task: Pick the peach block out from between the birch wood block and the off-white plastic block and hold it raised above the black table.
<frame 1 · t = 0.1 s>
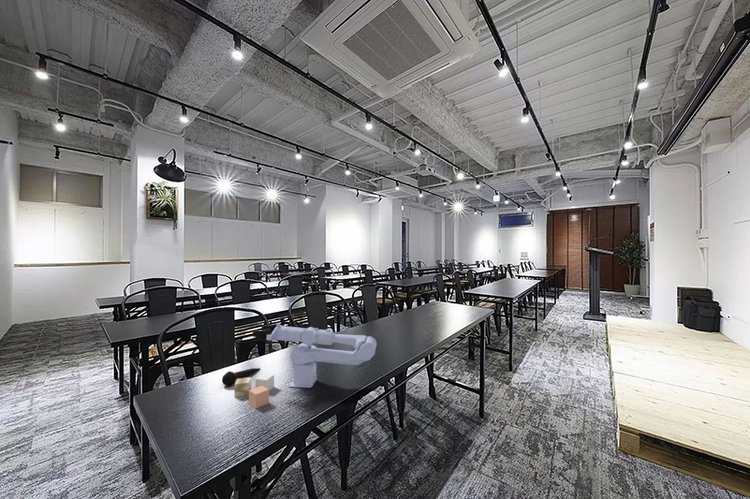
hand: (257, 331, 122), 22 cm above the table, tool horizontal, fingers open, 7 cm apart
microphone: (243, 379, 125), on the table
birch block: (242, 393, 111), on the table
peach block: (258, 403, 104), on the table
white block: (264, 389, 115), on the table
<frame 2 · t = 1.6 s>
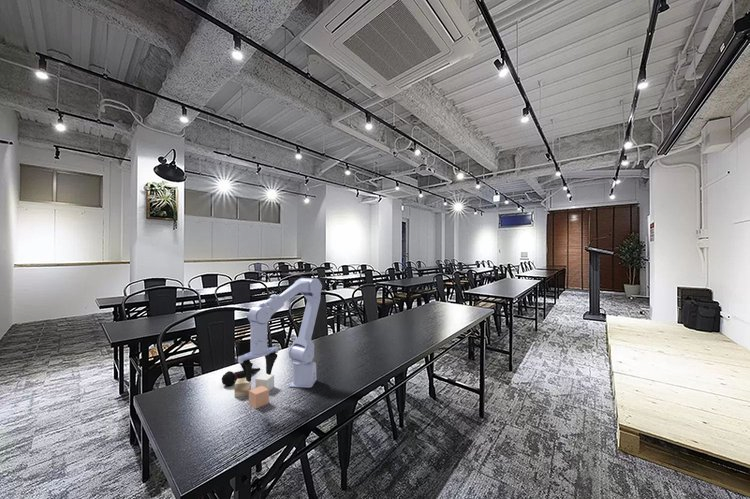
hand: (258, 377, 104), 9 cm above the table, tool pointing down, fingers open, 7 cm apart
nothing on the table moved.
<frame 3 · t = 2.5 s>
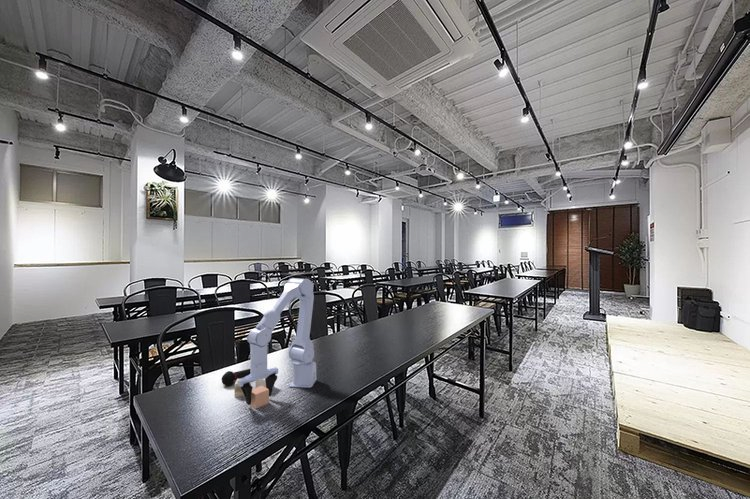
hand: (258, 399, 104), 1 cm above the table, tool pointing down, fingers open, 7 cm apart
nothing on the table moved.
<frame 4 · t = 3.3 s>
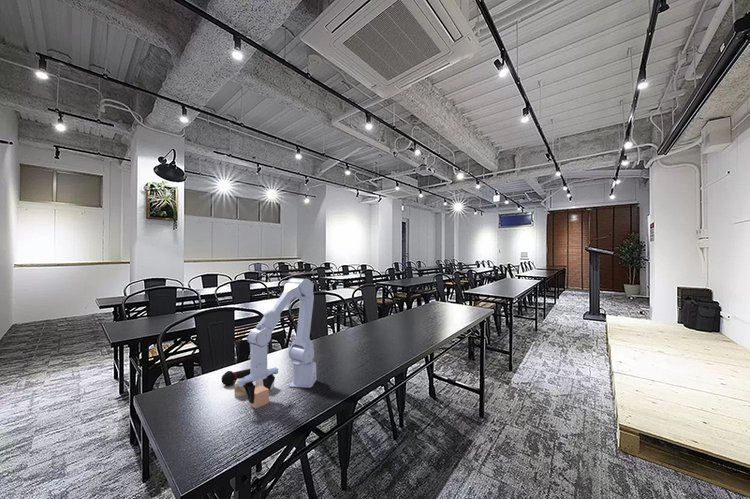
hand: (258, 399, 104), 1 cm above the table, tool pointing down, fingers closed on peach block, 5 cm apart
peach block: (258, 403, 104), on the table, touching gripper
everything else where it was.
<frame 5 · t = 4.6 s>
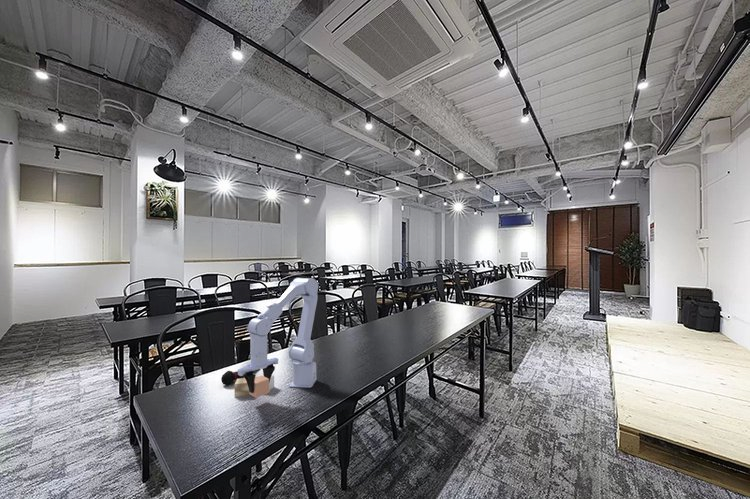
hand: (259, 389, 104), 5 cm above the table, tool pointing down, fingers closed on peach block, 5 cm apart
peach block: (259, 393, 104), point 4 cm above the table, touching gripper
everything else where it was.
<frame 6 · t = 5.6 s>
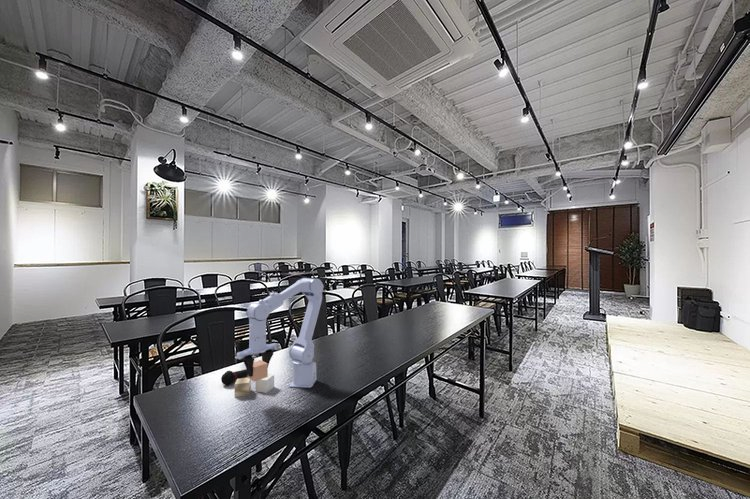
hand: (257, 373, 105), 10 cm above the table, tool pointing down, fingers closed on peach block, 5 cm apart
peach block: (257, 377, 105), point 9 cm above the table, touching gripper
everything else where it was.
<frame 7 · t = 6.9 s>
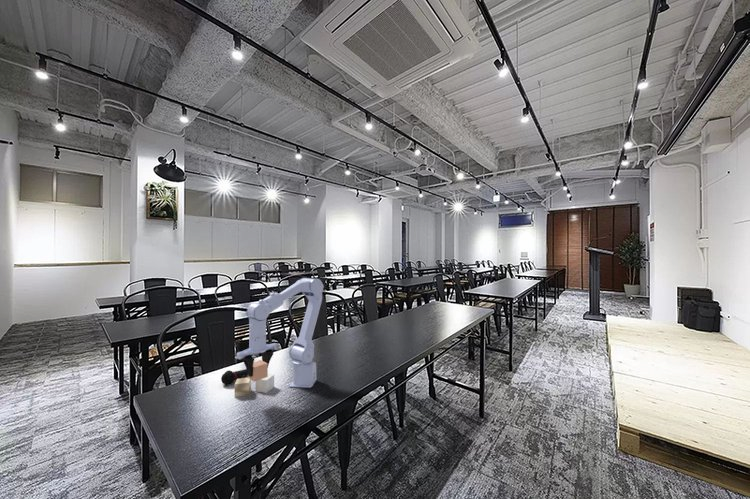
hand: (257, 373, 105), 10 cm above the table, tool pointing down, fingers closed on peach block, 5 cm apart
peach block: (257, 377, 105), point 9 cm above the table, touching gripper
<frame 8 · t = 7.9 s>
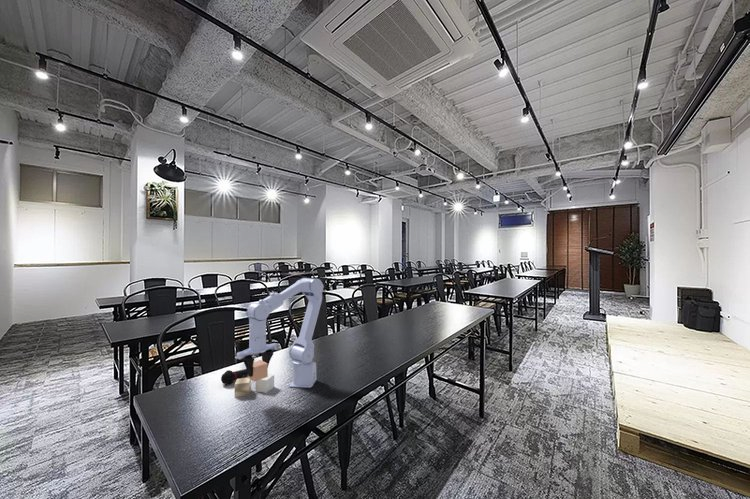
hand: (257, 373, 105), 10 cm above the table, tool pointing down, fingers closed on peach block, 5 cm apart
peach block: (257, 377, 105), point 9 cm above the table, touching gripper
at the end: the gripper is holding peach block; peach block point 9.0 cm above the table; white block moved 0.1 cm from its start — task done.
